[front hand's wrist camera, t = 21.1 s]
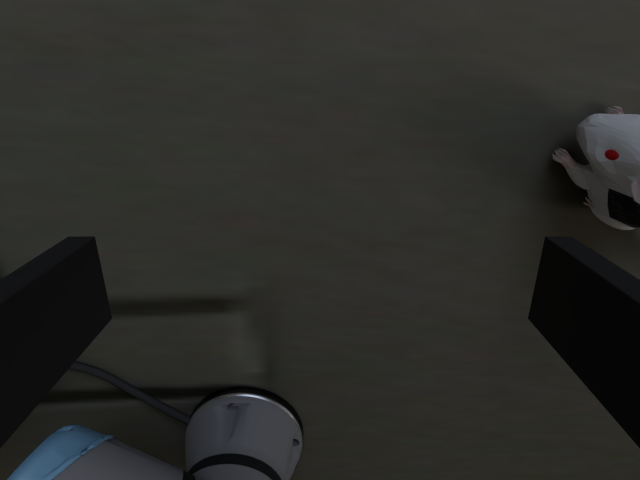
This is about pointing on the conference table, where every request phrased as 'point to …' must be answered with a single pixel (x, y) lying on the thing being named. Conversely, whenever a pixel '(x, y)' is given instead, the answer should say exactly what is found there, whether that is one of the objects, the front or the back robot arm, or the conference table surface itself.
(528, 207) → the conference table surface
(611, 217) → the toy
